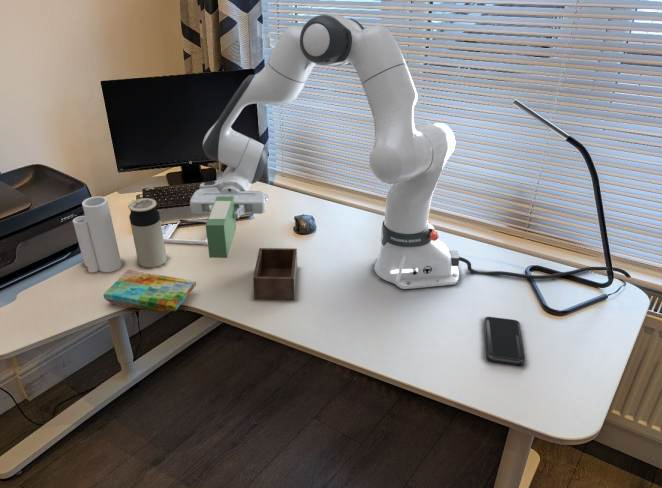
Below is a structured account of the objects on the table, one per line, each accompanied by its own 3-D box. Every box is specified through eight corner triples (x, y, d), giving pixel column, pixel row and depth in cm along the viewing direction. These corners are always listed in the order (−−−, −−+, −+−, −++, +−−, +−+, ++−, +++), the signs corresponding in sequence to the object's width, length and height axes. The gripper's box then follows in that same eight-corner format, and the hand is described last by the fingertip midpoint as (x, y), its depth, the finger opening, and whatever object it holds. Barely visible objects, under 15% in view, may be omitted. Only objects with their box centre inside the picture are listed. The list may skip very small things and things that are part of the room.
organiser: (297, 269, 154) (296, 248, 150) (294, 300, 142) (293, 278, 138) (260, 268, 155) (259, 247, 151) (254, 299, 142) (253, 278, 138)
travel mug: (172, 258, 160) (163, 201, 150) (153, 271, 155) (142, 212, 144) (152, 251, 164) (142, 195, 154) (132, 263, 158) (120, 206, 148)
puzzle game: (126, 267, 148) (195, 278, 143) (130, 282, 150) (197, 293, 145) (102, 291, 138) (174, 303, 133) (106, 306, 141) (177, 319, 136)
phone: (487, 356, 120) (484, 316, 132) (486, 360, 121) (483, 319, 133) (525, 362, 119) (519, 320, 131) (524, 366, 119) (518, 324, 131)
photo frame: (165, 216, 180) (218, 218, 177) (165, 219, 180) (219, 222, 178) (148, 238, 168) (206, 241, 165) (149, 241, 169) (206, 244, 166)
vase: (125, 260, 160) (111, 196, 149) (115, 273, 154) (100, 208, 143) (88, 258, 161) (71, 195, 150) (77, 271, 155) (59, 206, 144)
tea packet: (236, 227, 149) (233, 196, 144) (227, 258, 136) (223, 224, 131) (220, 227, 149) (216, 195, 144) (209, 257, 136) (205, 224, 131)
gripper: (269, 204, 156) (265, 227, 144) (197, 203, 157) (187, 226, 146) (268, 183, 152) (263, 205, 141) (195, 183, 154) (184, 204, 142)
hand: (224, 216), depth 143 cm, fingers closed on tea packet, 4 cm apart
